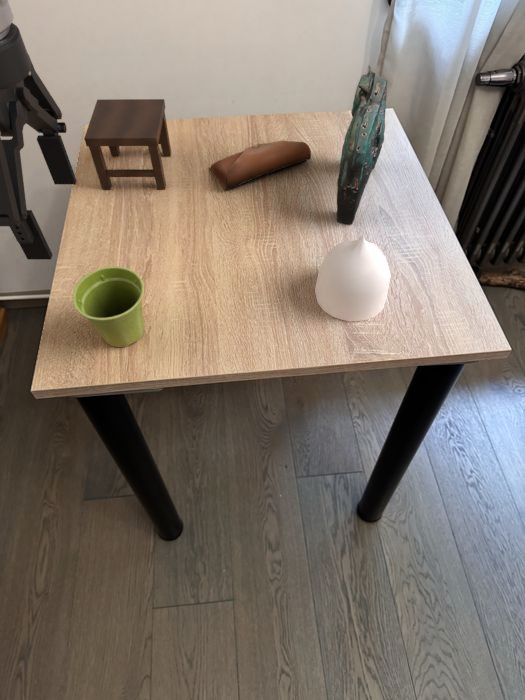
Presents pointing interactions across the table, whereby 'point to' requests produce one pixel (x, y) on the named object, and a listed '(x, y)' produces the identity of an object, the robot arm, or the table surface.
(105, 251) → the table surface
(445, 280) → the table surface
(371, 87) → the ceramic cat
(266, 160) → the sunglasses case
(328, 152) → the table surface
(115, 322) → the plant pot
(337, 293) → the teardrop
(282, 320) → the table surface
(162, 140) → the plant stand
